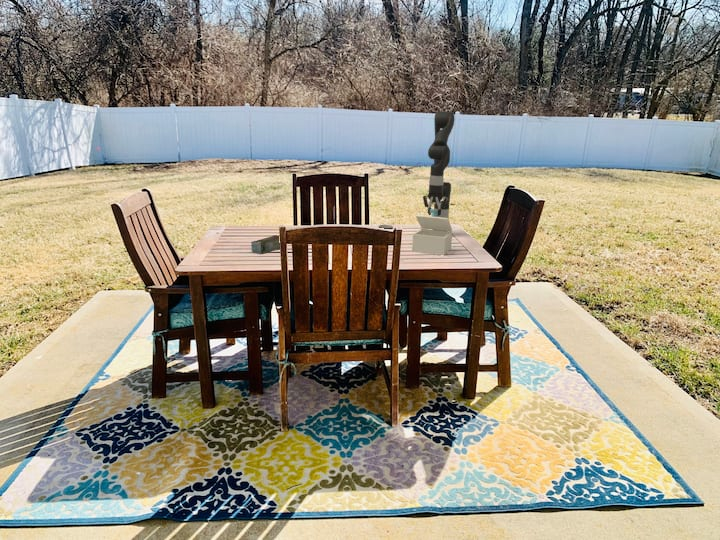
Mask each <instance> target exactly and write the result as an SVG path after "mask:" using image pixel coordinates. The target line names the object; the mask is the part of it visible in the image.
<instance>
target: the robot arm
mask: <svg viewBox="0 0 720 540" xmlns="http://www.w3.org/2000/svg"><path fill="white" fill-rule="evenodd" d="M433 121H434V140H433V142H432V144H431V145H430V146H429V148H428V152H427V155H428V158H429V159H431V160H433V164H431V165H430V175H429V176H430V177H429V181H428V194H426V195H423V196H422V200H423V204H424V207H425V208H427V215H428V216H432V213H430V209H432V206H433V210H438V214H436V213H435V216H434V217H441V218H448V219H449V218H450V217H449V215H450V200H451V192H452V183H451V182H447V181H446V182H445V180H444V178H445V177H444V174H445V172H444V171H445V169H446V168H447V167H448V166H449V164H450V162H451V161H450V160H451V149H450V147H449V145H448V141H449V138H450V137H449V136H450V135H451V133H452V130H453V128H454V125H455V113H454V112H452V111H437V112H435V114H434V120H433ZM428 200H429V202H428ZM433 204H434V205H433ZM438 231H441V230H438ZM446 232H448V231H446Z"/></svg>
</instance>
